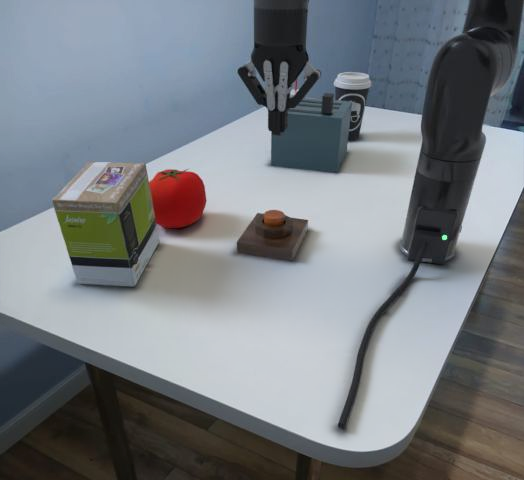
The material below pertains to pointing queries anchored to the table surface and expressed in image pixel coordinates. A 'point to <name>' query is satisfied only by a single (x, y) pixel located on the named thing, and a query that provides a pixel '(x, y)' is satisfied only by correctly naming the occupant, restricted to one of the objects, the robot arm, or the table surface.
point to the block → (273, 238)
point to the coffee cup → (353, 97)
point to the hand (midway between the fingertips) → (277, 134)
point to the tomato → (177, 198)
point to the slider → (327, 103)
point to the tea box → (108, 223)
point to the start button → (274, 218)
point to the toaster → (313, 137)
